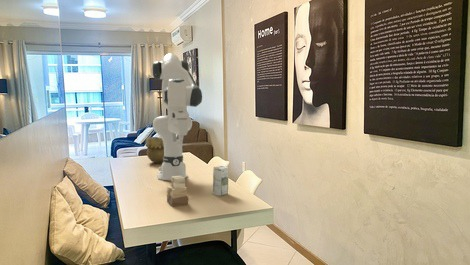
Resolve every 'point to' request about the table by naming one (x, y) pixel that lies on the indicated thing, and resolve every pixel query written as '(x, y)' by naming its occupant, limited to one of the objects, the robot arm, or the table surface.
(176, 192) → the oak slab
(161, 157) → the clay pot
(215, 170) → the syrup box
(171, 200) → the walnut slab
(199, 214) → the table surface
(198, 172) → the table surface
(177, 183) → the maple cube
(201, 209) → the table surface
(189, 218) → the table surface
